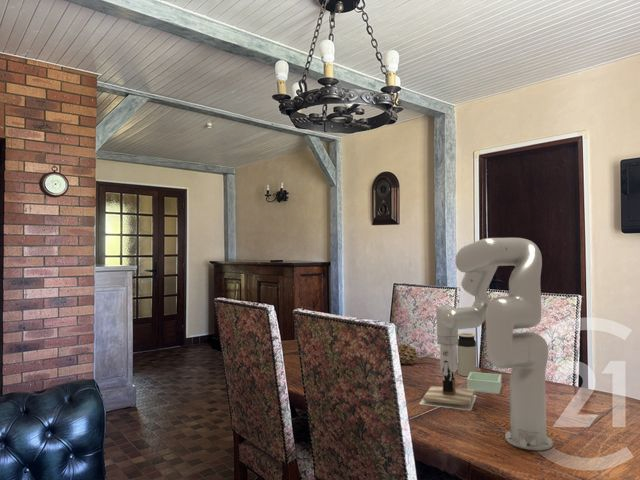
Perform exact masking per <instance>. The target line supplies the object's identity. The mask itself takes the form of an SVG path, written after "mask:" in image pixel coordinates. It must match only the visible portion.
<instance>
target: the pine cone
mask: <svg viewBox="0 0 640 480" xmlns="http://www.w3.org/2000/svg"><path fill="white" fill-rule="evenodd" d="M397 345H398V349H399V354H400V360H401V363H400V364H404V365H409V364H410V365H413V364H414V362H415V361H417V359H424V358H431V357H434V356H435V352H431V353H427V354H423V355H418V354H417V351H416V349H415V348H413V346H412V345H410V346H409V345H407V344H405V343H400V344H399V343H398V344H397Z"/></svg>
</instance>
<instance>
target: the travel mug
mask: <svg viewBox="0 0 640 480" xmlns="http://www.w3.org/2000/svg"><path fill="white" fill-rule="evenodd" d="M475 336H476V334H474V333H471V332H460V333H459V332H458V345H456V349H457V363H458V368H457V374H458V375H459V376H462V377H466V378H468V376H469V374H470V372H478V371H477V342H476V340H475Z"/></svg>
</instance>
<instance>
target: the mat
mask: <svg viewBox="0 0 640 480" xmlns="http://www.w3.org/2000/svg"><path fill="white" fill-rule="evenodd" d="M476 398H477V395H475V394H474V395H473V398H472V400H471V403H470V406H468V405H458V404H449V403H440V402H431V401H423V398H422V399H421V401H420V402H419V403H418V404H419V405H423V406H429V407H430V406H431V407H439V408H447V409H455V410H463V411H470V412H471V411H472V409H473V407H474V404H475V401H476Z"/></svg>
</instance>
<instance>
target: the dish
mask: <svg viewBox="0 0 640 480" xmlns="http://www.w3.org/2000/svg"><path fill="white" fill-rule="evenodd" d="M466 389H471V390H474V392H479V393H485V394H486V393H487V394H495V395H500V394H501V391H502V374H499V373H488V372H487V373H486V372H480V371H479V372H478V371H477V372H470V374H469V376H468V377H466Z"/></svg>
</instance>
